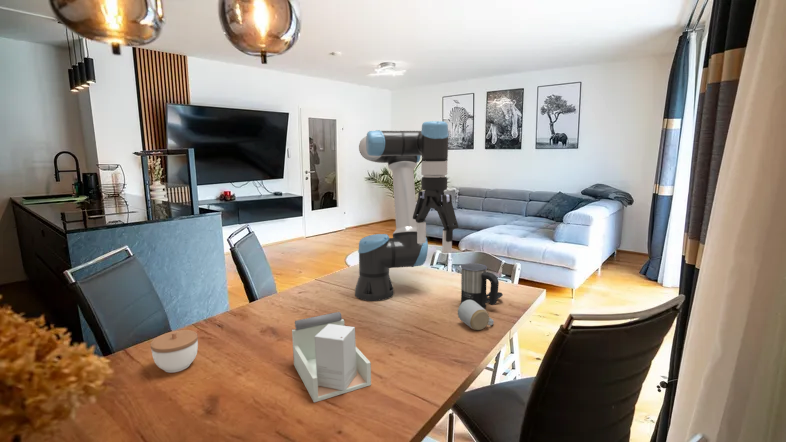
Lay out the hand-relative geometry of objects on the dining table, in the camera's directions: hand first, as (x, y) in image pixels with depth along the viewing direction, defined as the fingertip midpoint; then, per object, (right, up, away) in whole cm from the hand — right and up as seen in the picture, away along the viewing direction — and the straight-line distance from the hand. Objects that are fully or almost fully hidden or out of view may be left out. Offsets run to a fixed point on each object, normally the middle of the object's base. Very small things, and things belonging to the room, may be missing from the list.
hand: (433, 247), depth 117 cm
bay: (-28, -31, -19) cm, 46 cm away
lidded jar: (-69, -30, -15) cm, 77 cm away
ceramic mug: (+15, -26, +9) cm, 31 cm away
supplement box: (-26, -31, -23) cm, 46 cm away
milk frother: (+20, -23, +27) cm, 40 cm away
